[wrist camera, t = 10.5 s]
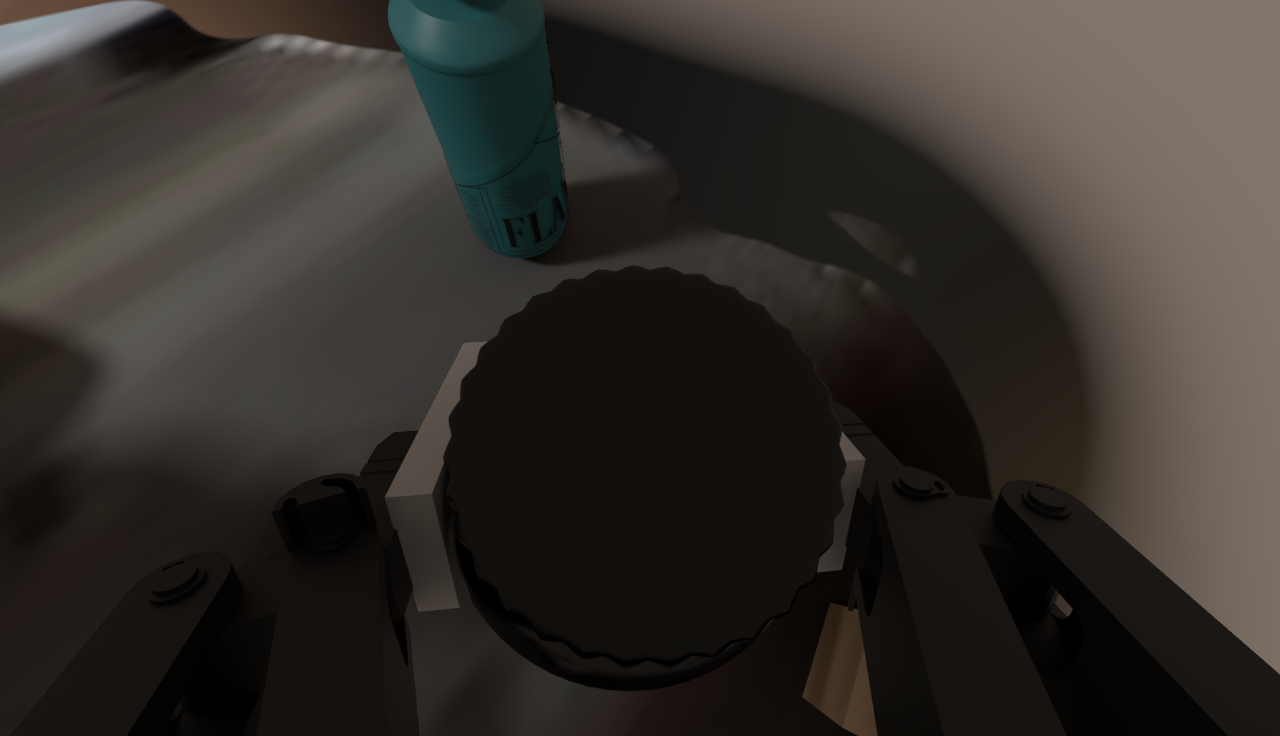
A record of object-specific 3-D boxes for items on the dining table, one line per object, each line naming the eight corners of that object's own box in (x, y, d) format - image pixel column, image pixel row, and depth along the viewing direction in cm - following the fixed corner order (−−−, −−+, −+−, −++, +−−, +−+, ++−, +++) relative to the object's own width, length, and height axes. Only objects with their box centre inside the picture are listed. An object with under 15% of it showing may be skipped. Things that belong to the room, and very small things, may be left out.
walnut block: (801, 696, 27) (842, 727, 23) (829, 602, 29) (873, 613, 24) (891, 741, 27) (952, 782, 22) (914, 643, 28) (975, 662, 24)
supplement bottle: (648, 377, 19) (714, 125, 8) (760, 541, 17) (1055, 530, 6) (479, 479, 17) (248, 351, 6) (585, 671, 16) (537, 988, 4)
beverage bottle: (512, 291, 34) (395, -31, 15) (456, 222, 35) (285, -150, 16) (591, 239, 36) (574, -109, 17) (534, 176, 37) (460, -211, 18)
